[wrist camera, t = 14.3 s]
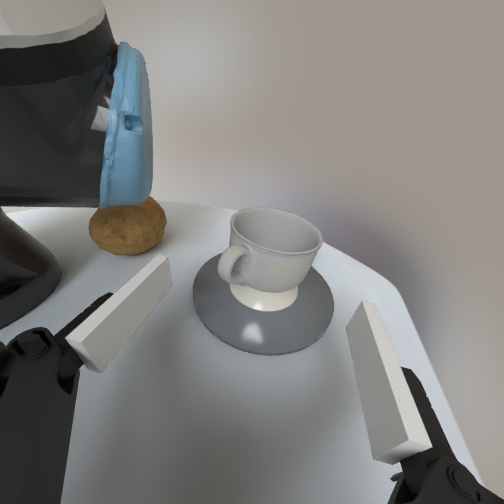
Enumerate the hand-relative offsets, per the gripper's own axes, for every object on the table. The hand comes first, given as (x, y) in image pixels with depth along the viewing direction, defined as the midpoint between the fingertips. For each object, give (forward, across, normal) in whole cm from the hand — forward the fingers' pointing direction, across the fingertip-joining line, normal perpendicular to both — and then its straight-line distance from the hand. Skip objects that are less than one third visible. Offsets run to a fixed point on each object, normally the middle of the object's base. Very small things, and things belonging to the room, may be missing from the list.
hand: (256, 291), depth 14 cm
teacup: (+10, -1, -8) cm, 13 cm away
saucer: (+10, 0, -9) cm, 13 cm away
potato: (+14, -22, -10) cm, 27 cm away
